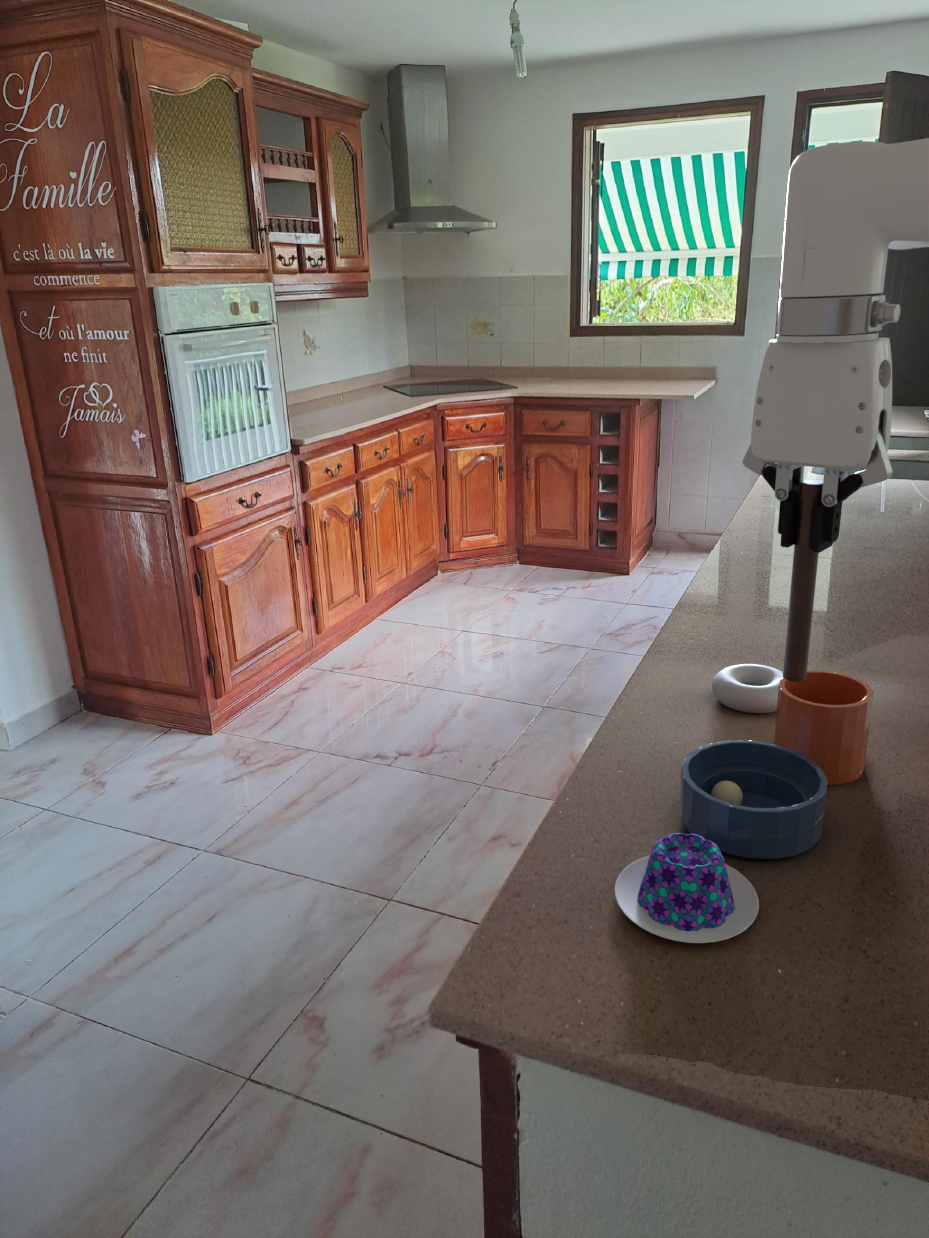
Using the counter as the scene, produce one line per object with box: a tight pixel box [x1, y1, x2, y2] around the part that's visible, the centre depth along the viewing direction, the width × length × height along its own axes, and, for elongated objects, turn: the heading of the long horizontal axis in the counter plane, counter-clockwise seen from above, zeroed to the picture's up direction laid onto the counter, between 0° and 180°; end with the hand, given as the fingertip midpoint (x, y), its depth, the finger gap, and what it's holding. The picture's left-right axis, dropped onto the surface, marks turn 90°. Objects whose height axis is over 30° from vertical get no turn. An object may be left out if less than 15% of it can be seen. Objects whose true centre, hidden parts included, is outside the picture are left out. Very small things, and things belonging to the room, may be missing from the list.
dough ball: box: [711, 781, 743, 805], centre depth 87 cm, size 3×3×3 cm
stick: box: [782, 479, 823, 682], centre depth 77 cm, size 2×2×18 cm
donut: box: [711, 663, 783, 714], centre depth 110 cm, size 10×4×10 cm
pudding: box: [614, 832, 760, 944], centre depth 75 cm, size 12×12×5 cm
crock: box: [773, 669, 874, 786], centre depth 94 cm, size 9×9×9 cm
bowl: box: [679, 739, 828, 860], centre depth 85 cm, size 13×13×6 cm
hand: (806, 544), depth 76 cm, fingers closed on stick, 2 cm apart
